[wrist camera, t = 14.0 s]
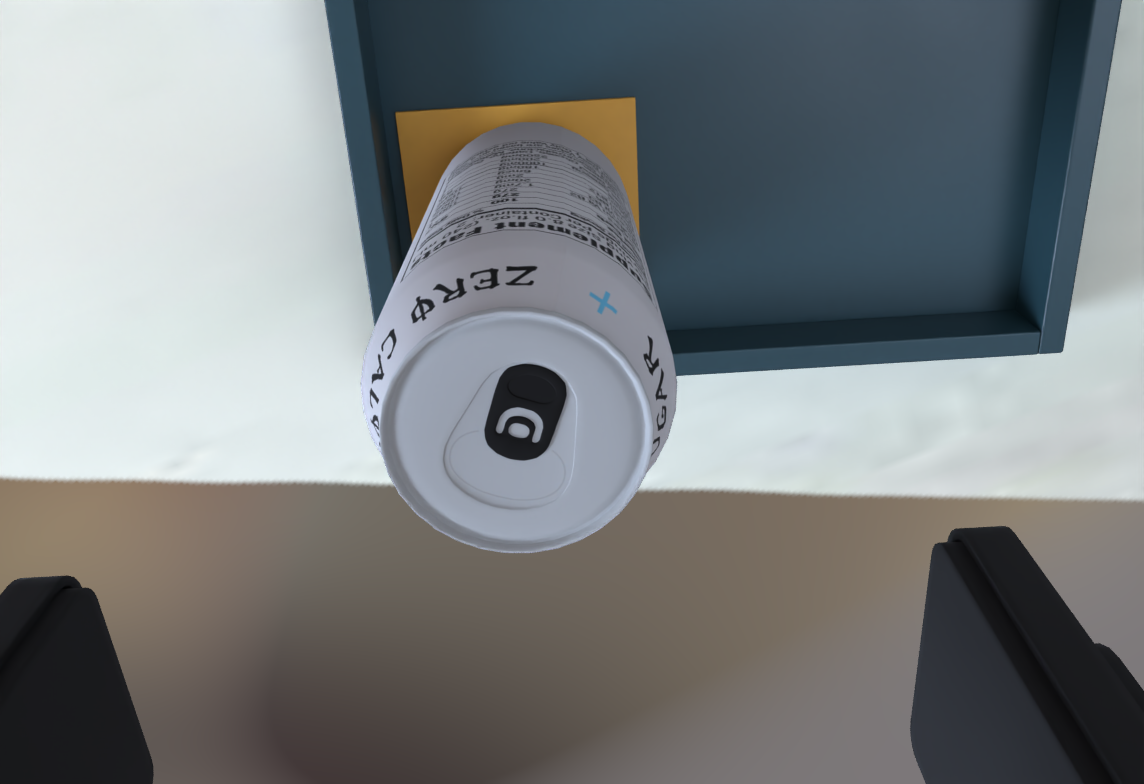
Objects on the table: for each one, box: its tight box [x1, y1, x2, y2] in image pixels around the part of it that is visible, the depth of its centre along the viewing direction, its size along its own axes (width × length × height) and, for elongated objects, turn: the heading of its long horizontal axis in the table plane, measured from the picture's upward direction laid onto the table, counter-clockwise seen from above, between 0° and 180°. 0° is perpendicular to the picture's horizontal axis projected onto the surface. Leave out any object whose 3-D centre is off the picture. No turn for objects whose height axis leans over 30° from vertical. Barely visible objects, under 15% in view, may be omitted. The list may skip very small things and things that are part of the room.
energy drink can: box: [361, 122, 677, 553], centre depth 24 cm, size 6×6×15 cm
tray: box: [324, 0, 1122, 376], centre depth 29 cm, size 22×16×3 cm
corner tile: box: [395, 97, 639, 242], centre depth 31 cm, size 7×7×1 cm
